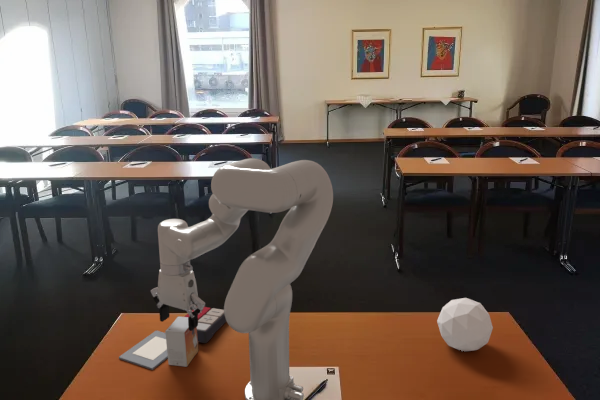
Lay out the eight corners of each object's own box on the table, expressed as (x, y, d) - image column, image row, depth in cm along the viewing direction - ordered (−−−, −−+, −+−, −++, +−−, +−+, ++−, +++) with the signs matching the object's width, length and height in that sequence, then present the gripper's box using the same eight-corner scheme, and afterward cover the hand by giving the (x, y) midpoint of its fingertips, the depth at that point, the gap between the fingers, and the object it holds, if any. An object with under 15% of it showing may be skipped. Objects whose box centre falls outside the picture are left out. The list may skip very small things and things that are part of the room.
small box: (187, 367, 128) (184, 333, 125) (167, 365, 129) (164, 330, 126) (199, 350, 135) (196, 317, 132) (180, 348, 136) (177, 315, 133)
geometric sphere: (446, 359, 139) (421, 312, 142) (489, 336, 141) (464, 289, 144) (464, 364, 125) (436, 311, 128) (512, 338, 127) (484, 287, 130)
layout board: (188, 341, 140) (188, 339, 139) (152, 370, 127) (152, 367, 126) (156, 332, 145) (156, 330, 144) (118, 358, 132) (118, 356, 131)
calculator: (228, 309, 150) (205, 329, 136) (228, 321, 151) (206, 343, 137) (197, 304, 153) (171, 324, 139) (197, 316, 154) (172, 337, 140)
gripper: (211, 267, 124) (213, 325, 129) (159, 254, 131) (163, 309, 136) (193, 278, 118) (196, 339, 123) (139, 264, 125) (144, 322, 130)
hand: (178, 323), depth 129 cm, fingers open, 9 cm apart
